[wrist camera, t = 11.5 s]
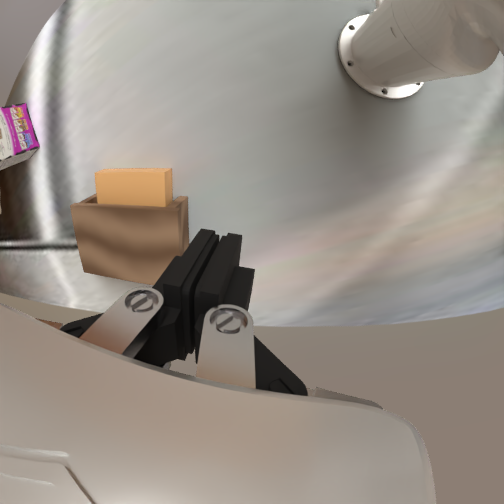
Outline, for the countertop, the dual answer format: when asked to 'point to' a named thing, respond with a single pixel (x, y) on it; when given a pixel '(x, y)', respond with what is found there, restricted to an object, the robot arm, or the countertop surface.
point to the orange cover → (134, 186)
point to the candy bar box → (16, 135)
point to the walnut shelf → (130, 238)
